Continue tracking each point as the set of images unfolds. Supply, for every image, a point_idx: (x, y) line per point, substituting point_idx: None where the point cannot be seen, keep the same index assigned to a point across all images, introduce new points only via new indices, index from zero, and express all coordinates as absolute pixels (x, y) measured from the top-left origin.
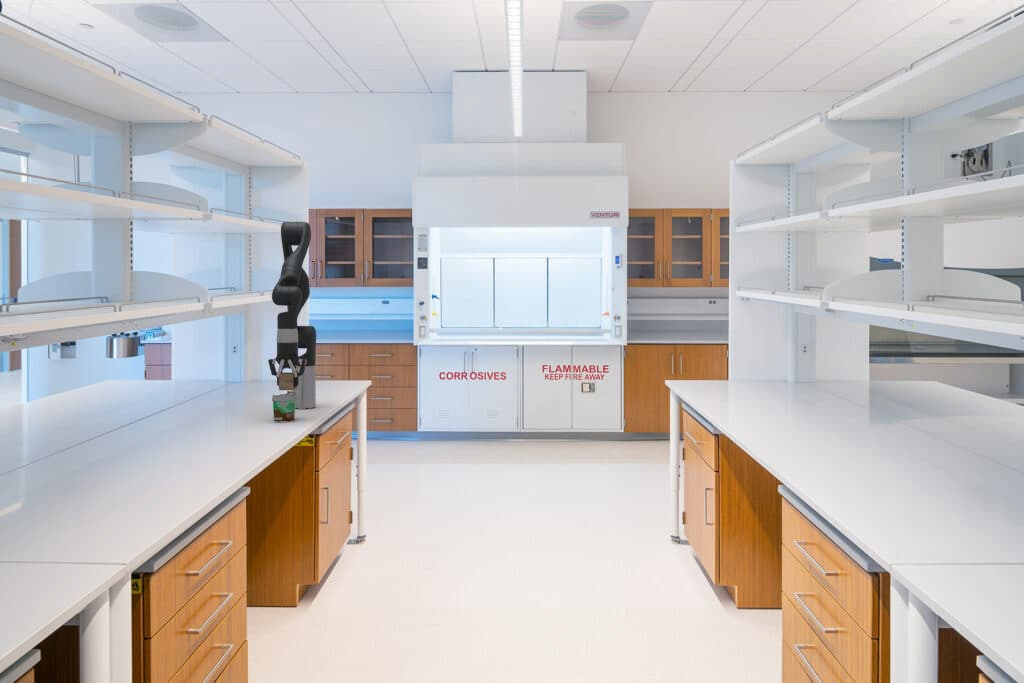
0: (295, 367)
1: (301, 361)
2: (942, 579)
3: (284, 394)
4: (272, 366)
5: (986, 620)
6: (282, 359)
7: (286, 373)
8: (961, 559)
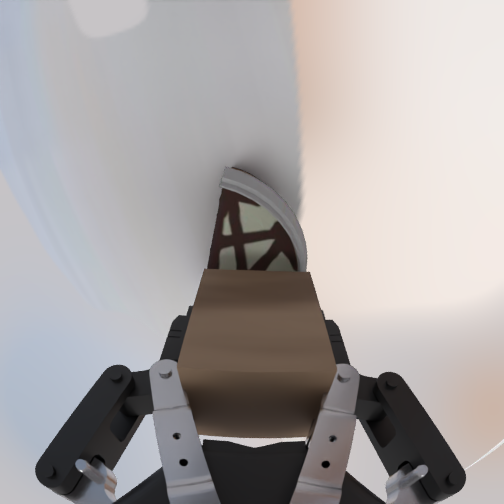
0: (338, 442)
1: (405, 499)
2: (482, 457)
3: (224, 261)
4: (114, 459)
5: (466, 468)
6: None
7: (248, 421)
8: (499, 445)
